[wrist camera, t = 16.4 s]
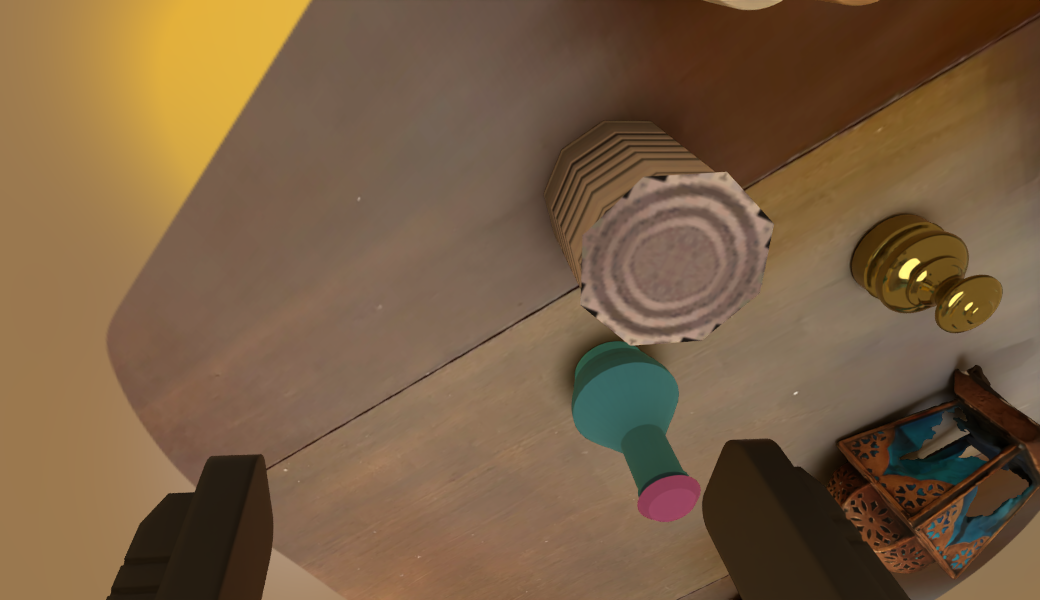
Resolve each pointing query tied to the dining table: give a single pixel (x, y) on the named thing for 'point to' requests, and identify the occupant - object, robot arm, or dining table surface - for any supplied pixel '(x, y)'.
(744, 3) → the cream bottle
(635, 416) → the perfume bottle
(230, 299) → the dining table surface
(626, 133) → the can
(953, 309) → the brass weight
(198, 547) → the robot arm
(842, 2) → the tan short cylinder
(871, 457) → the lantern
